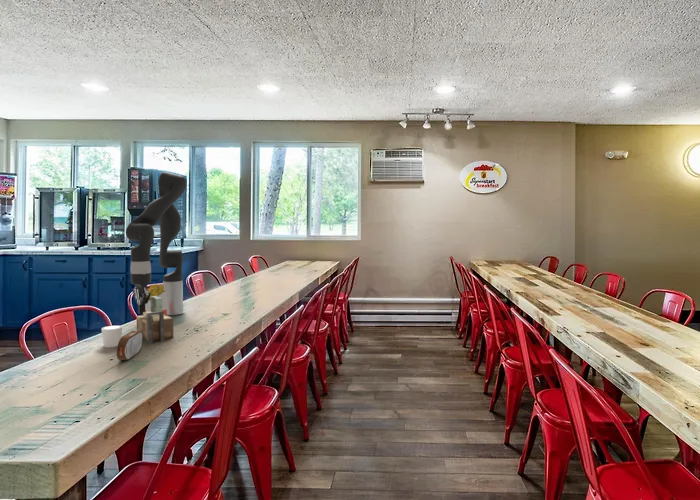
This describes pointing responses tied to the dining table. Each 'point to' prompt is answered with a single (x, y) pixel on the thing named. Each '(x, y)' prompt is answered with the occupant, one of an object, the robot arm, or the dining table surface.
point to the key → (154, 317)
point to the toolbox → (156, 328)
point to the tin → (129, 345)
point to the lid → (154, 308)
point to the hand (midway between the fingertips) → (141, 313)
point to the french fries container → (157, 292)
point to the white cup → (111, 335)
